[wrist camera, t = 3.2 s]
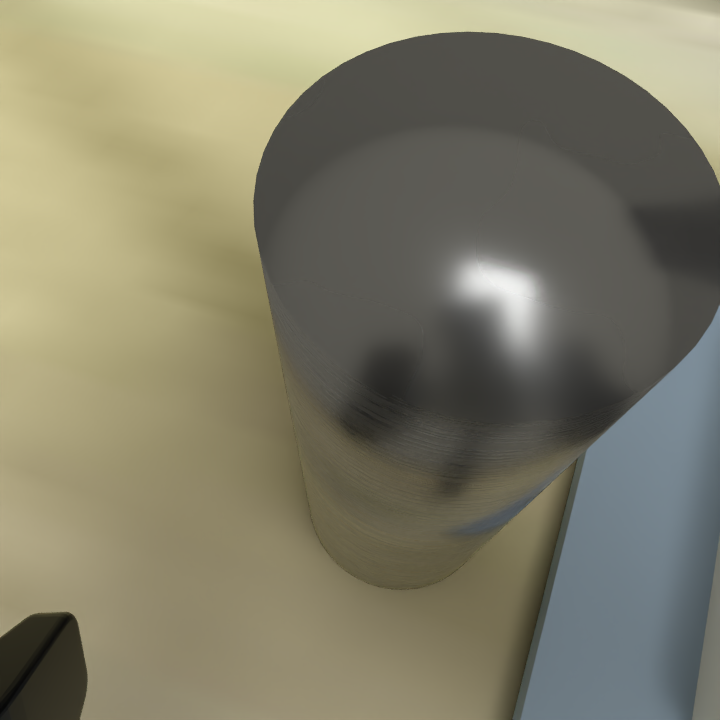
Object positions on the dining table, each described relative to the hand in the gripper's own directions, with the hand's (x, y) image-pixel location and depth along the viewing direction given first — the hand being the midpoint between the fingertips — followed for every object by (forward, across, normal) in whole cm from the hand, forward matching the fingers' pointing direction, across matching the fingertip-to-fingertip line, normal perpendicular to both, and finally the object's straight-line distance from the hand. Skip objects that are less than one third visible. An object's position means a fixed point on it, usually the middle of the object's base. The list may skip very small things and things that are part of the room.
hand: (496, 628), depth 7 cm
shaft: (+11, 0, +5) cm, 12 cm away
